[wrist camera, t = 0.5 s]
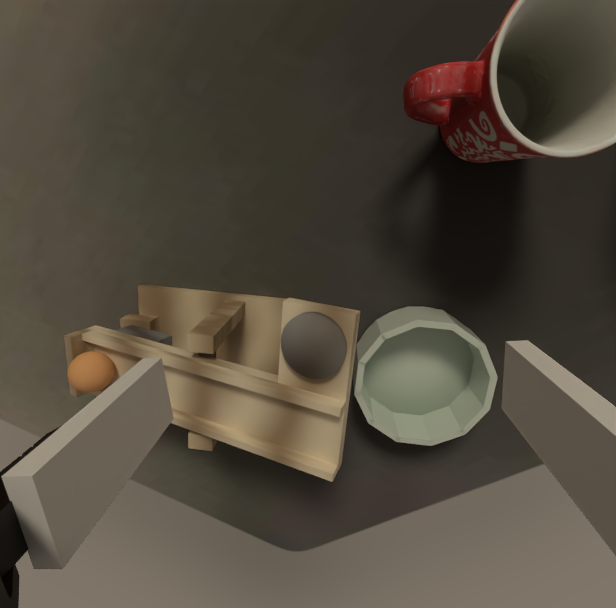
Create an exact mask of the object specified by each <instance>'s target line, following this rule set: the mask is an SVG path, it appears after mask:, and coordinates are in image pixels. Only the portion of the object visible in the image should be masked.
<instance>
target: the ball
mask: <svg viewBox="0 0 616 608" xmlns="http://www.w3.org/2000/svg"><path fill="white" fill-rule="evenodd" d="M67 375H68V380H69V382H70V384H71V385H72V386H73V387H74V388H75V389H77V390H79V391H82V392H96V391H99V390H101V389H103V388H104V387H106V386H107V385H108V384H109V383H110V381H111V380H112V378H113V375H114V365H113V363H112V361H111V359H110V358H109V357H108V356H107V355H105V354H103V353H101V352H96V351H90V352H85V353H82V354H80V355H78V356H77V357H76V358H74V359H73V361H72V362H71V363H70V365H69V367H68V373H67Z"/></svg>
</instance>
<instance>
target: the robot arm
mask: <svg viewBox="0 0 616 608" xmlns="http://www.w3.org/2000/svg"><path fill="white" fill-rule="evenodd" d="M502 410H503V411H504V412H505V414H506V415H507V416H508V417H509V419H510V420H511V421H512V423H513V424H514V425H515V426H516V428H517V429H518V430H519V432H520V433H521V434H522V435H523V437H524V438H525V439H526V441H527V442H528V443H529V444H530V446H531V447H532V448H533V450H534V451H535V452H536V453H537V455H538V456H539V457H540V459H541V460H542V461H543V462H544V464H545V465H546V466H547V468H548V469H549V470H550V472H551V473H552V474H553V475H554V477H555V478H556V479H557V481H558V482H559V483H560V484H561V486H562V487H563V488H564V490H565V491H566V492H567V493H568V495H569V496H570V497H571V499H572V500H573V501H574V502H575V504H576V505H577V506H578V508H579V509H580V510H581V511H582V512H583V514H584V515H585V517H586V518H587V519H588V520H589V522H590V523H591V524H592V526H593V527H594V528H595V530H596V531H597V532H598V533H599V535H600V536H601V537H602V539H603V540H604V541H605V542H606V544H607V545H608V546H609V548H610V549H611V550H612V551H613V553H614V554H615V555H616V406H614V405H613V404H611V403H610V402H609V401H607V400H606V399H605V398H603V397H602V396H601V395H599V394H598V393H597V392H595V391H594V390H593V389H591V388H590V387H589V386H587V385H586V384H585V383H583V382H582V381H581V380H579V379H578V378H577V377H576V376H574V375H573V374H572V373H570V372H569V371H568V370H566V369H565V368H564V367H562V366H561V365H560V364H558V363H557V362H556V361H554V360H553V359H552V358H550V357H549V356H548V355H546V354H545V353H544V352H542V351H541V350H540V349H538V348H537V347H536V346H534V345H533V344H532V343H530V342H529V341H528V340H526V341H506V345H505V361H504V377H503V393H502ZM173 419H174V417H173V412H172V407H171V402H170V397H169V392H168V387H167V382H166V377H165V372H164V367H163V362H162V358H143V359H142V360H141V361H139V362H138V363H137V364H136V365H135V366H133V367H132V368H131V369H130V370H129V371H127V372H126V373H125V374H124V375H123V376H121V377H120V378H119V379H118V380H117V381H115V382H114V383H113V384H112V385H111V386H109V387H108V388H107V389H106V390H105V391H103V392H102V393H101V394H100V395H99V396H97V397H96V398H95V399H94V400H93V401H91V402H90V403H89V404H88V405H87V406H85V407H84V408H83V409H82V410H81V411H79V412H78V413H77V414H76V415H75V416H73V417H72V418H71V419H70V420H69V421H67V422H66V423H65V424H64V425H62V426H60V427H58V428H57V429H55V430H53V431H51V432H49V433H48V434H46V435H45V436H44V437H43V438H41V439H40V440H39V441H38V442H36V443H35V444H34V446H33V447H30V448H29V449H28V450H27V451H25V452H24V453H23V454H22V456H20V457H18V458H17V459H16V460H14V461H13V462H12V463H11V464H10V465H8V466H7V467H6V468H5V469H3V470H2V471H1V472H0V608H18V601H19V574H18V571H17V568H16V565H15V564H16V562H17V561H18V560H19V559H20V558H21V557H22V556H23V554H24V553H25V552H26V551H27V550H28V553H29V556H30V559H31V562H32V564H33V567H34V569H63V568H64V567H65V565H66V564H67V563H68V561H69V560H70V558H71V557H72V556H73V554H74V553H75V552H76V550H77V549H78V547H79V546H80V545H81V544H82V542H83V541H84V540H85V538H86V537H87V535H88V534H89V533H90V531H91V530H92V529H93V527H94V526H95V525H96V523H97V522H98V521H99V519H100V518H101V516H102V515H103V514H104V512H105V511H106V510H107V508H108V507H109V506H110V504H111V503H112V502H113V500H114V499H115V497H116V496H117V495H118V493H119V492H120V491H121V489H122V488H123V487H124V485H125V484H126V482H127V481H128V480H129V478H130V477H131V476H132V474H133V473H134V472H135V470H136V469H137V468H138V466H139V465H140V464H141V462H142V461H143V459H144V458H145V457H146V455H147V454H148V453H149V451H150V450H151V449H152V447H153V446H154V445H155V443H156V442H157V441H158V439H159V438H160V436H161V435H162V434H163V432H164V431H165V430H166V428H167V427H168V426H169V424H170V423H171V422H172V420H173Z"/></svg>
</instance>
